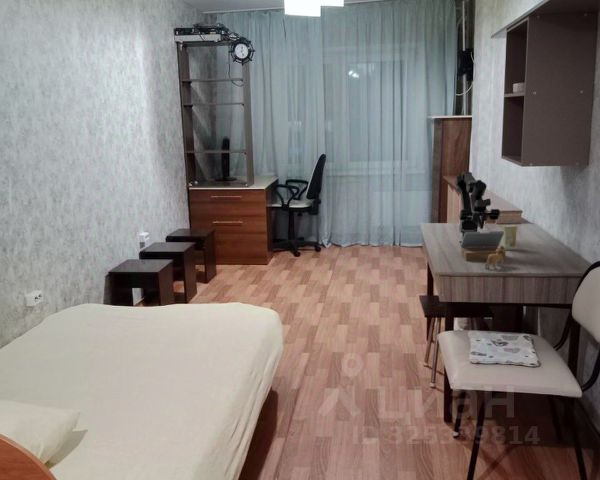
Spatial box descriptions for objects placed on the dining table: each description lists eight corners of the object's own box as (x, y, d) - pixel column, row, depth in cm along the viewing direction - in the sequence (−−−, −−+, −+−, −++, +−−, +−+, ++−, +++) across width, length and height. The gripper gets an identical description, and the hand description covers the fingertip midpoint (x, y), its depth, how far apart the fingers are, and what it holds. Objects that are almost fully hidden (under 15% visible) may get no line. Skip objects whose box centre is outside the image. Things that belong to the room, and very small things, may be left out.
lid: (460, 247, 283) (460, 244, 283) (497, 246, 282) (497, 244, 282) (465, 232, 272) (465, 230, 272) (504, 232, 271) (503, 230, 271)
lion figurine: (496, 263, 267) (497, 244, 265) (507, 264, 264) (508, 245, 262) (482, 269, 257) (483, 250, 255) (494, 271, 253) (495, 252, 251)
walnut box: (460, 254, 284) (460, 247, 283) (497, 254, 283) (497, 246, 282) (466, 261, 272) (466, 253, 271) (504, 260, 271) (505, 252, 270)
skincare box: (504, 250, 290) (506, 226, 287) (499, 248, 294) (501, 225, 291) (515, 249, 291) (517, 225, 289) (510, 247, 296) (511, 224, 293)
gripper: (461, 193, 279) (465, 219, 270) (500, 192, 278) (505, 218, 269) (457, 206, 288) (461, 232, 280) (494, 206, 287) (500, 231, 279)
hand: (482, 228), depth 277 cm, fingers closed
